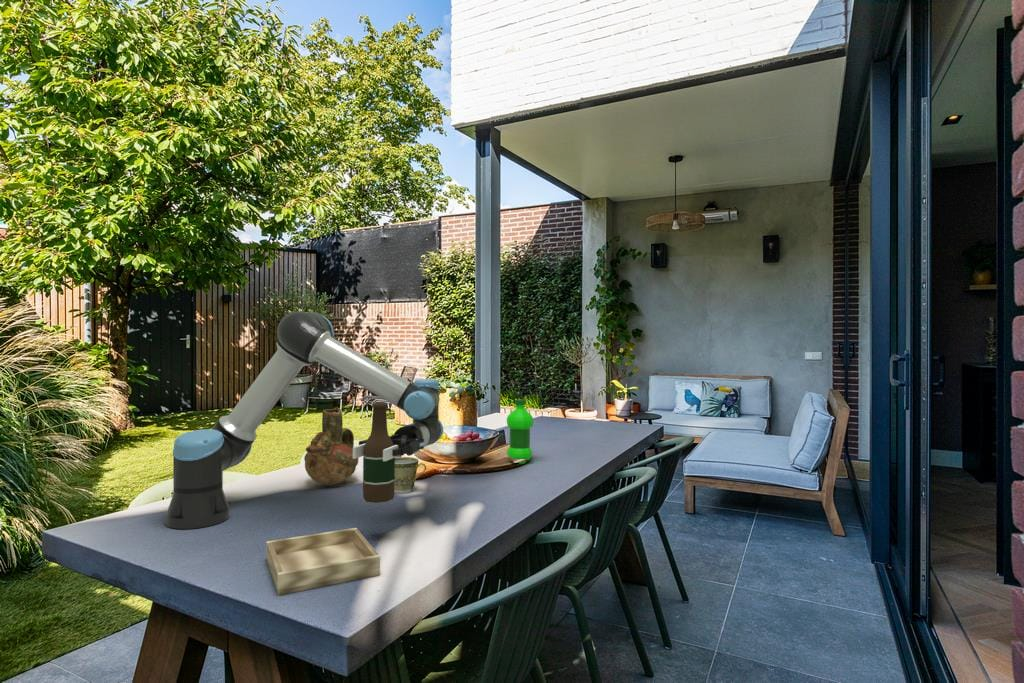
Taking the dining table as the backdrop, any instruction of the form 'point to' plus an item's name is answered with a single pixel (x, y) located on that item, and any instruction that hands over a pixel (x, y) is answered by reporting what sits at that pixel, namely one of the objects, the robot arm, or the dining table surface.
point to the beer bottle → (378, 460)
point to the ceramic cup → (406, 474)
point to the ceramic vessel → (331, 451)
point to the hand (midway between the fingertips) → (369, 454)
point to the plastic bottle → (520, 432)
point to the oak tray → (320, 560)
